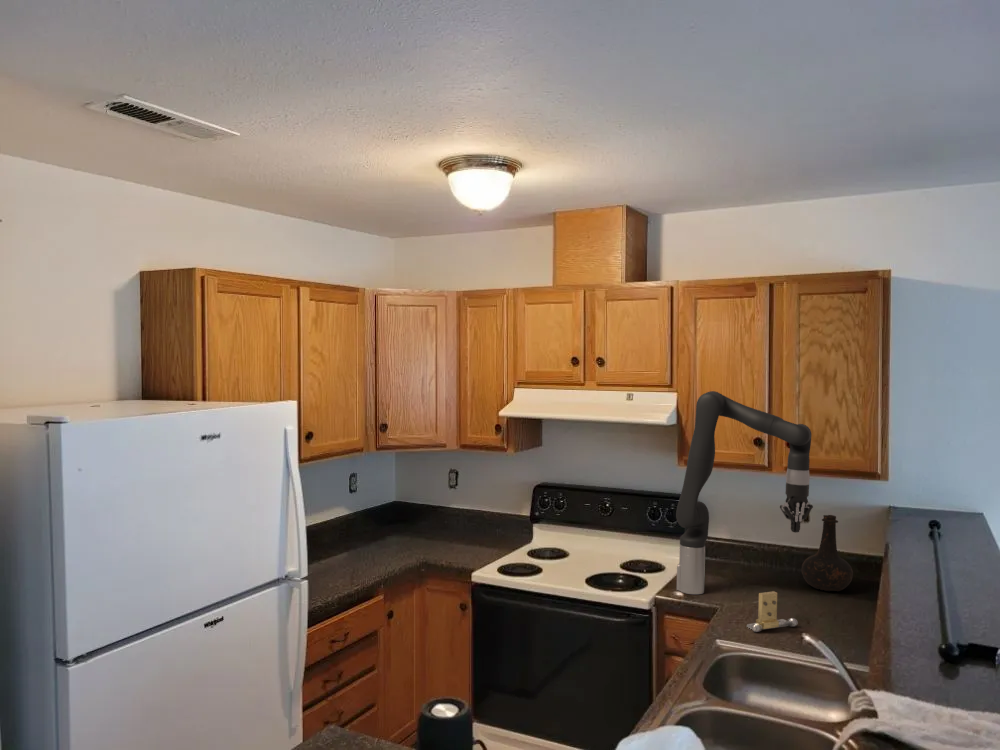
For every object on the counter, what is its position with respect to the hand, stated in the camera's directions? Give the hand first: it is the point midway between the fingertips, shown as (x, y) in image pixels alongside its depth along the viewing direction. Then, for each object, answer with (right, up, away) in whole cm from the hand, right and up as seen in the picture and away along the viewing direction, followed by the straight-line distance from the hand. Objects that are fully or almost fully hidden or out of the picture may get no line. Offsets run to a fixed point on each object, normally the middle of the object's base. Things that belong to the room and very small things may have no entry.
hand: (795, 531), depth 258 cm
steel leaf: (-15, -27, -17) cm, 35 cm away
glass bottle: (+22, -27, +27) cm, 44 cm away
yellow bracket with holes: (-17, -26, -20) cm, 37 cm away
